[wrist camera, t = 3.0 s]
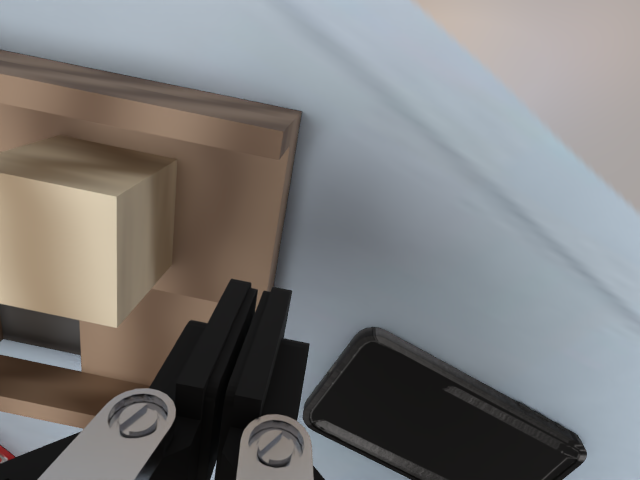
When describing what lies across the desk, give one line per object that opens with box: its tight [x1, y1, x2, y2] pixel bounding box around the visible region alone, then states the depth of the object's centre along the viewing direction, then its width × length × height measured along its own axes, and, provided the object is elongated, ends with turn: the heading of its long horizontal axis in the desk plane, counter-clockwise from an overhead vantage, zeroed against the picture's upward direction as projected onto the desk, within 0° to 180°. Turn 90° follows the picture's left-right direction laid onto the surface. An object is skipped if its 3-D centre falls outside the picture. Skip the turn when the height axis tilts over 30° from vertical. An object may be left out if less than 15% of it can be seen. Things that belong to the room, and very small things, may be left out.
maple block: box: [0, 135, 178, 328], centre depth 17 cm, size 5×5×5 cm
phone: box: [303, 327, 587, 480], centre depth 26 cm, size 8×1×15 cm
